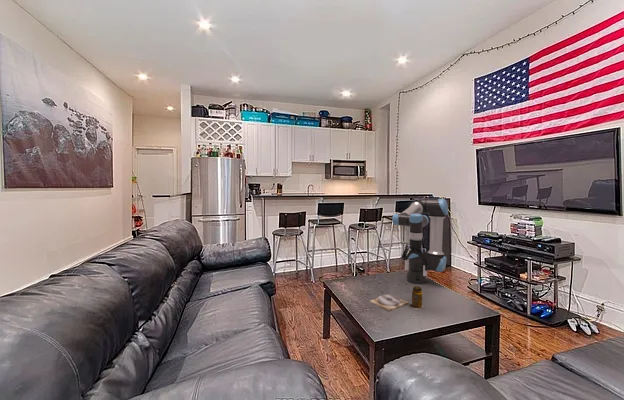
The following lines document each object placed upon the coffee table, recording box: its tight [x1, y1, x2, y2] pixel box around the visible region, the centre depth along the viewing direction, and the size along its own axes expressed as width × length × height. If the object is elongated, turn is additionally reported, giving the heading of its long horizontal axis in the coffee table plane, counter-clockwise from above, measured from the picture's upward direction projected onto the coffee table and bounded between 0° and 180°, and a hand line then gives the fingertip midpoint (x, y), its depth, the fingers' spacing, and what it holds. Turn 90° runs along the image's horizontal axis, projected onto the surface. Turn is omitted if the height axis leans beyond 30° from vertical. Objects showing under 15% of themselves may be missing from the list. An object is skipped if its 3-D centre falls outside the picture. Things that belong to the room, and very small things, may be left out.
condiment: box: [406, 285, 426, 311], centre depth 177 cm, size 7×8×12 cm
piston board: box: [369, 293, 409, 312], centre depth 183 cm, size 18×16×3 cm
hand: (415, 272), depth 176 cm, fingers open, 13 cm apart
